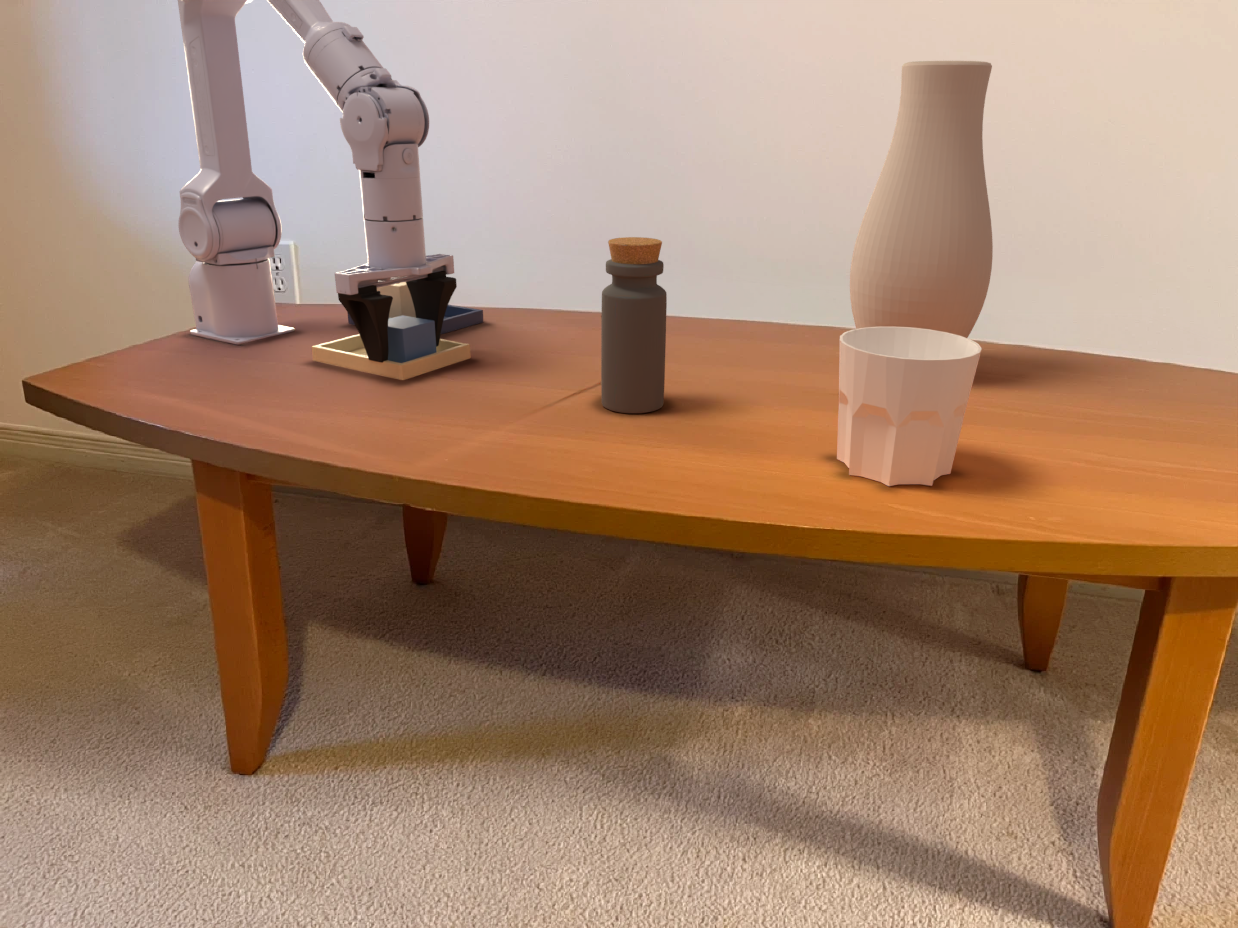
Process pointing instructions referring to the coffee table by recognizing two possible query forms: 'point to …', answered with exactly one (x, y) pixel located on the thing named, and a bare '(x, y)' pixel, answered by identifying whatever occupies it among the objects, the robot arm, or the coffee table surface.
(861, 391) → the cup
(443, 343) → the cream tray
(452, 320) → the blue tray
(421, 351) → the blue block
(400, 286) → the cream block
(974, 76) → the vase
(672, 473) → the coffee table surface
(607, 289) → the bottle
